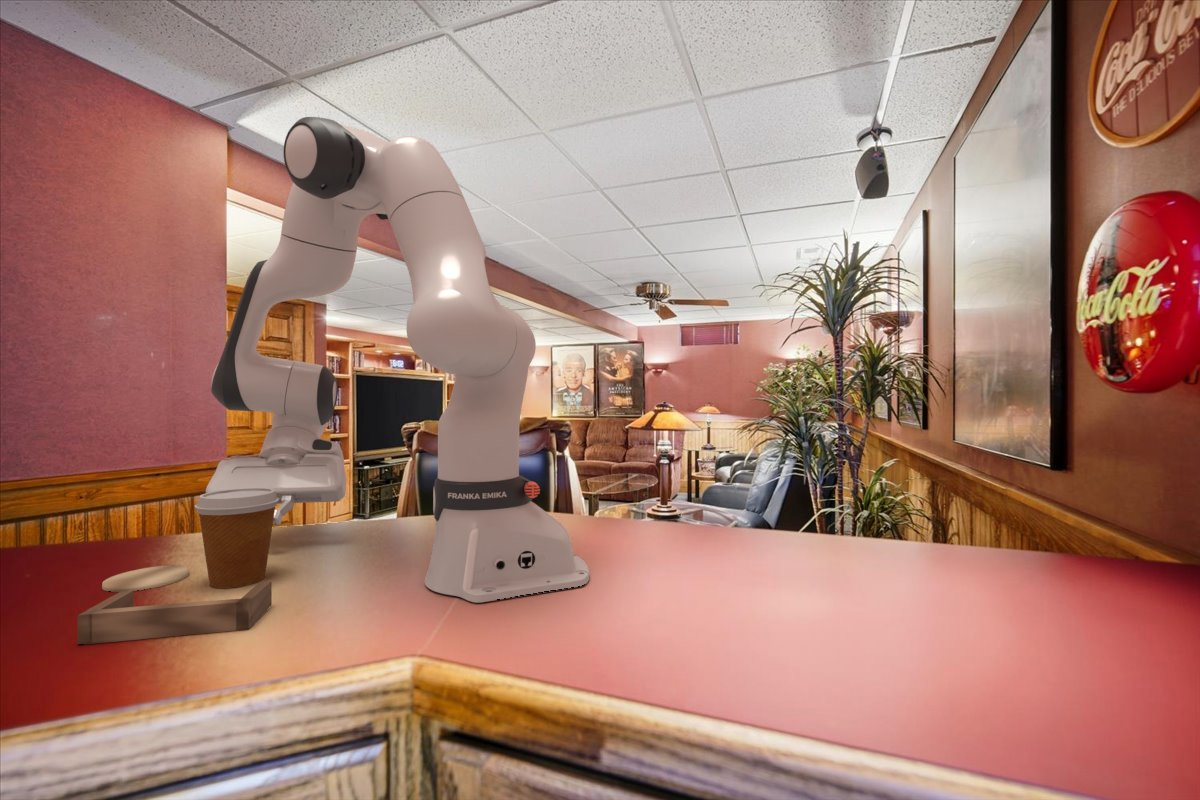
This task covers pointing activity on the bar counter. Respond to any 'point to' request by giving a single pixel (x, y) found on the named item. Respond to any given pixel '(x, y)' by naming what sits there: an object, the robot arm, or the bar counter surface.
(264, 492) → the disposable coffee cup
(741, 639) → the bar counter surface
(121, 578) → the cork coaster
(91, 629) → the walnut bay
